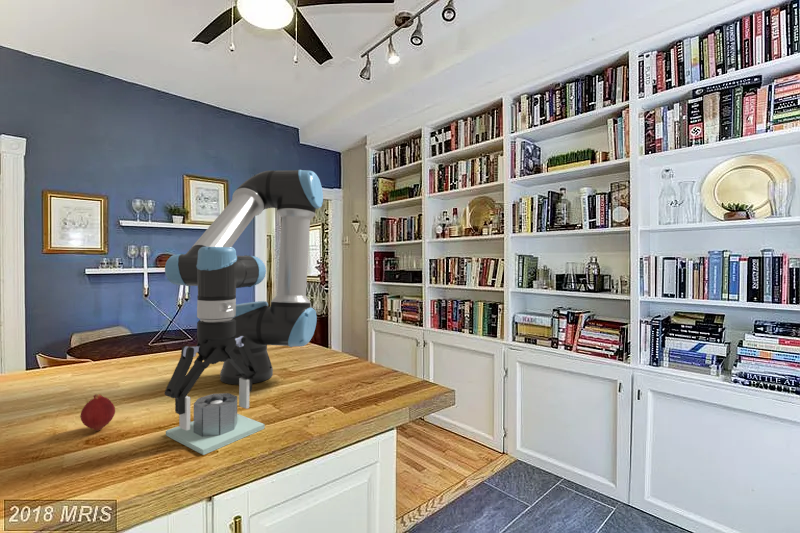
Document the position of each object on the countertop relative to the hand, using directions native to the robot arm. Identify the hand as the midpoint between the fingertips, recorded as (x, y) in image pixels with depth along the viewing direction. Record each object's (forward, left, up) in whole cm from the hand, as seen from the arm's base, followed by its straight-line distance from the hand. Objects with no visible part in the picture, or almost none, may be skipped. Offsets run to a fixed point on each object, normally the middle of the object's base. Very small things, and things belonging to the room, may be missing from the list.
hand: (216, 417), depth 85 cm
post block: (0, 0, -3) cm, 3 cm away
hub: (0, 0, -2) cm, 2 cm away
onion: (-21, -14, -3) cm, 25 cm away
